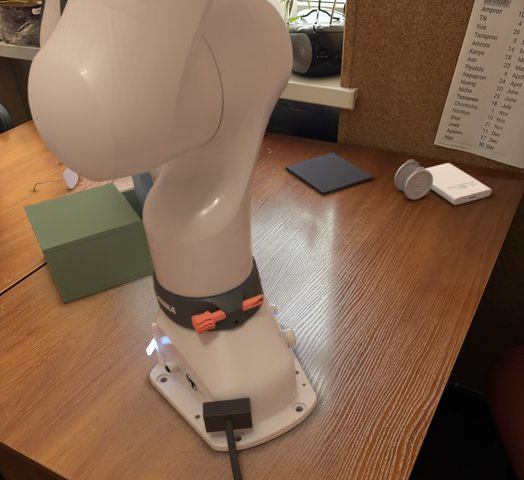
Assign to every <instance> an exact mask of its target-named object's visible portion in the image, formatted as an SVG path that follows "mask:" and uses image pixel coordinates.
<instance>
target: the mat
mask: <svg viewBox="0 0 524 480" xmlns="http://www.w3.org/2000/svg"><path fill="white" fill-rule="evenodd" d="M285 170H287V171H288V172H289V173H291V174H292V175H293V176H295V177H296V178H298V179H299V180H301V181H302V182H304V184H306V185H308V186H309V187H310V188H312V189H313V190H314V191H316V192H317V193H318V194H320V195H322V196H325V195H329V194H331V193H335V192H338V191H341V190H344V189H348V188H350V187H353V186H356V185H360V184H362V183H366V182H369V181H371V180H373V179H374V176H373V175H371V173H368V172H366V171H365V170H363V169H362V168H360V167H358V166H357V165H355V164H353V163H352V162H350V161H348V160H346V159H344V158H343V157H342V156H340V155H338V154H336V153H335V152H330V153H327V154H324V155H320V156H316V157H314V158H310V159H306V160H303V161H299V162H296V163H293V164H288V165H285Z"/></svg>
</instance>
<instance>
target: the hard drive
mask: <svg viewBox="0 0 524 480" xmlns="http://www.w3.org/2000/svg"><path fill="white" fill-rule="evenodd" d="M424 168H425V167H424ZM425 170H428V171H429V172H430V173H431V174H432V176H433V184H432V187H431V188H430V190H432V192H435V193H436V194H437V195H438V196H439V197H441V198H443V199H444V200H446V201H447V202H449V203H450V204H452V205H453V206H458V205H462V204H466V203H470V202H474V201H476V200H481V199H485V198H488V197H489V196H491V193H492V190H493V189H492V188H490V187H488V186H487V185H485V184H484V183H482V182H480V181H479V180H477V179H476V178H475V177H473V176H471V175H470V174H468V173H466V172H465V171H463V170H461V169H460V168H458V167H457V166H455V165H453V164H452V163H450V162H446V163H442V164H438V165H434V166H430V167H426V168H425Z"/></svg>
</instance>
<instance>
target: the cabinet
mask: <svg viewBox="0 0 524 480" xmlns="http://www.w3.org/2000/svg"><path fill="white" fill-rule="evenodd" d="M120 191H121V190H120V189H119V188H118V187H117V185H116V184H115V183H114V182H110V183H105V184H103V185H99V186H94V187H92V188H88V189H84V190H81V191H77V192H73V193H70V194H66V195H62V196H59V197H55V198H51V199H49V200H48V199H47V200H44V201H40V202H37V203H33V204H30V205H29V204H28V205H25V206H23V209H24V212H25V214H26V216H27V219H28V222H29V224H30V226H31V228H32V231H33V233H34V235H35V238H36V240H37V243H38V245H39V248H40V250H41V253H42V255H43V257H44V260H45V262H46V264H47V266H48V269H49V272H50V274H51V275H52V278H53V281H54V282H55V285H56V288H57V290H58V293H59V295H60V298H61V300H62V302H63V304H67V303H70V302H73V301H76V300H79V299H82V298H86V297H87V296H91V295H93V294H97V293H100V292H103V291H106V290H109V289H111V288H114V287H118V286H120V285H123V284H126V283H129V282H132V281H135V280H138V279H140V278H144V277H146V276H150V275H153V271H154V266H153V262H152V260H151V256H150V252H149V248H148V244H147V240H146V236H145V232H144V228H143V223H142V220H141V219H140V217H139V216H138V215H137V213H136V212H135V211H134V209H133V208H132V207H131V205H130V204H129V203H128V202H127V200H126V199H125V198H124V196H123V195H122V194H121V192H120Z"/></svg>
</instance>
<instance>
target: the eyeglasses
mask: <svg viewBox="0 0 524 480" xmlns="http://www.w3.org/2000/svg"><path fill="white" fill-rule="evenodd" d="M60 164H62V165H63V163H61V162H60ZM60 181H64V183H65V184H66V186H67V188H68V189H73V188H75V187H76V185H77V184H78V182H79V175H78V174H76V173H75V172H73V171H72V170H70V169H69V168H67V167H66V168H65V169H64V171H63V172H62V178H61V179H60V178H59V179H54V180H50V181H49V180H48V181H44V182H38V183H35V184H34V186H33V192H35V191H36V186H37V185H41V184H47V183H54V182H60Z"/></svg>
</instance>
